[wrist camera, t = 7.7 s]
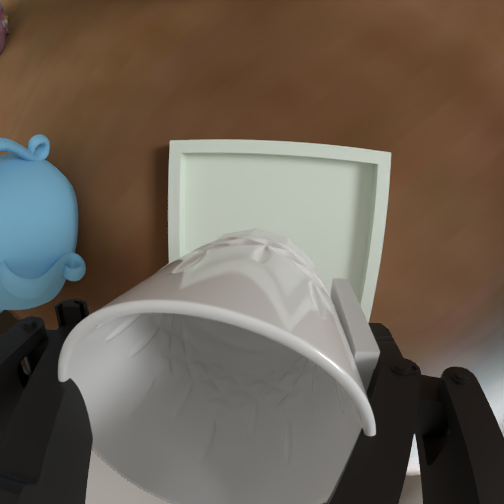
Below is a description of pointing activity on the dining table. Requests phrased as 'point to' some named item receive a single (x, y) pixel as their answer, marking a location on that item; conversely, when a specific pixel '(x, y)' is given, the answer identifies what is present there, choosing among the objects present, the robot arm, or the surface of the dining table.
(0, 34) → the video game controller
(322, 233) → the tray
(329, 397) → the white cup
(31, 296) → the decorative pot
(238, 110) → the dining table surface
